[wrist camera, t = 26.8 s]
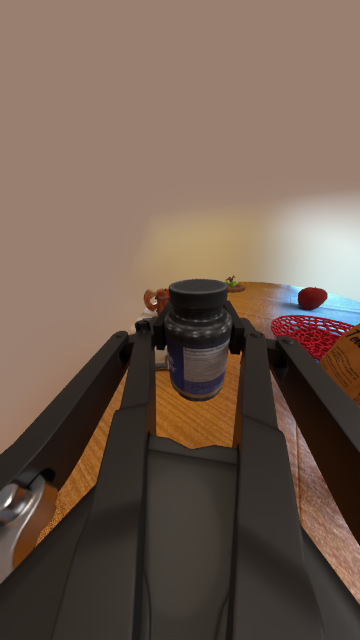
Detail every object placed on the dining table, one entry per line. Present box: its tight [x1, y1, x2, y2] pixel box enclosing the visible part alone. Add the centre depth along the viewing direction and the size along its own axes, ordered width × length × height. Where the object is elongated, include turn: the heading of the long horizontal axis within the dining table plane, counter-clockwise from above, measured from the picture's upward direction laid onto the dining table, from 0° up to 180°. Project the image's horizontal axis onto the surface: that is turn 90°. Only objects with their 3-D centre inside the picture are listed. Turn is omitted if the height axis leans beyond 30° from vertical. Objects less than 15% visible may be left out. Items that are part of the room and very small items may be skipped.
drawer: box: [155, 345, 169, 370], centre depth 40 cm, size 18×12×8 cm, turn 2°
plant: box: [226, 276, 245, 292], centre depth 111 cm, size 20×20×11 cm
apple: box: [298, 287, 327, 310], centre depth 68 cm, size 11×11×12 cm
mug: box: [144, 289, 169, 315], centre depth 68 cm, size 15×8×15 cm, turn 105°
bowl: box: [271, 315, 355, 360], centre depth 43 cm, size 29×29×5 cm
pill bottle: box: [164, 279, 232, 401], centre depth 13 cm, size 6×6×11 cm
